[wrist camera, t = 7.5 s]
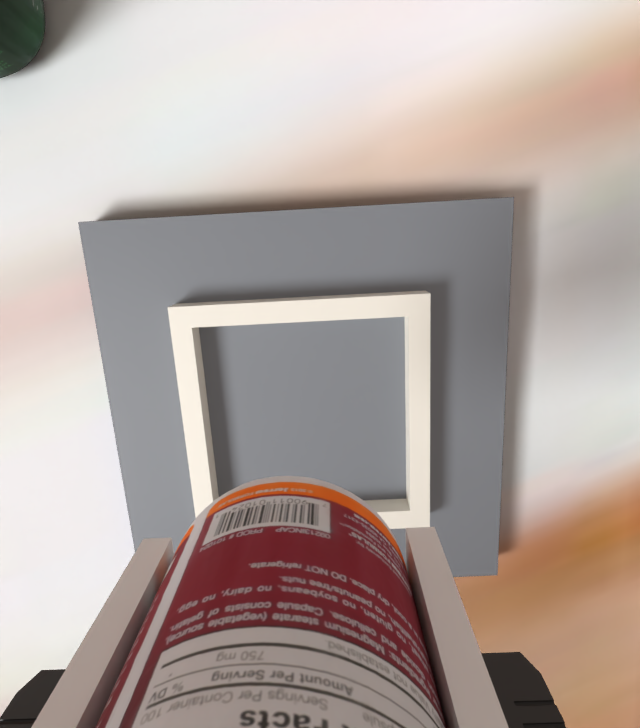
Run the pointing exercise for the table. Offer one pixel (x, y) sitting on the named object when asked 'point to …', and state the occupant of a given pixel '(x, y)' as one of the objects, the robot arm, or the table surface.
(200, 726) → the pill bottle
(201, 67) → the table surface
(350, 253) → the locating plate
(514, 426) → the table surface
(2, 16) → the coffee jar
